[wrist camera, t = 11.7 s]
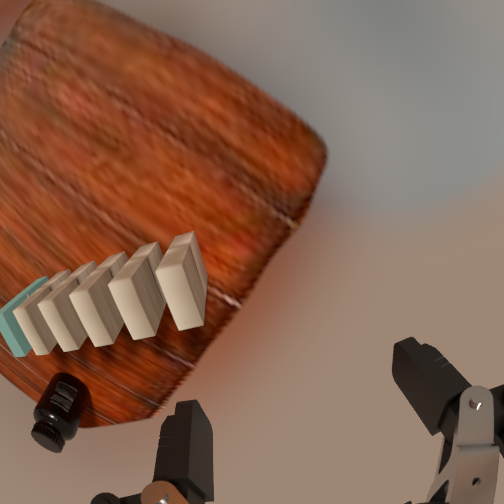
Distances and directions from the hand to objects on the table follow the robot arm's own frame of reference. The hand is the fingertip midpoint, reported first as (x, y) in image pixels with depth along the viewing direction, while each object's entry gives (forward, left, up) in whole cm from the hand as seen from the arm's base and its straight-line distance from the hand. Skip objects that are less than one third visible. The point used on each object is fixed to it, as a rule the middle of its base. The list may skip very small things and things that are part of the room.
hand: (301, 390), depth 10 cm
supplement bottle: (-32, -15, -21) cm, 41 cm away
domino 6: (-6, 0, -21) cm, 22 cm away
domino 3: (-18, 0, -21) cm, 27 cm away
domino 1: (-26, 0, -21) cm, 33 cm away
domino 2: (-22, 0, -21) cm, 30 cm away
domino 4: (-14, 0, -21) cm, 25 cm away
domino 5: (-10, 0, -21) cm, 23 cm away
